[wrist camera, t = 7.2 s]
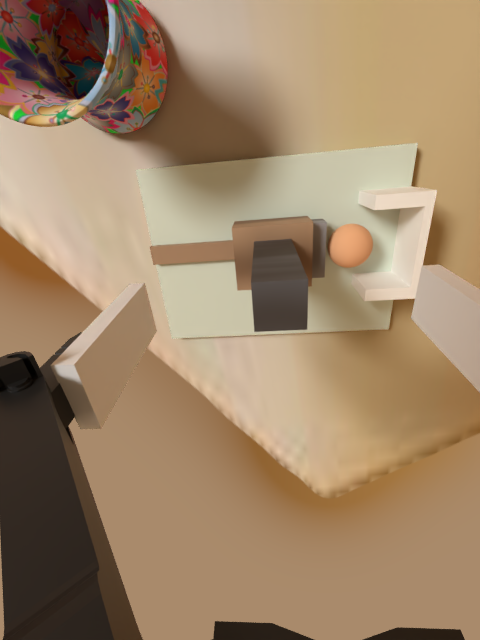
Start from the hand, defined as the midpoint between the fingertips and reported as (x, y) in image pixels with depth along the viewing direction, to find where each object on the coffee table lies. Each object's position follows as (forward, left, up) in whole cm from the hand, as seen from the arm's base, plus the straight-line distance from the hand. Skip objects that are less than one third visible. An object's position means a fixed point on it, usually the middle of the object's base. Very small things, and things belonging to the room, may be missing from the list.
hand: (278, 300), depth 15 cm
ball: (+1, +6, -12) cm, 13 cm away
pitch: (+2, 0, -14) cm, 14 cm away
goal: (+1, +9, -14) cm, 17 cm away
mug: (-14, -12, -15) cm, 24 cm away
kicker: (+1, +1, -13) cm, 12 cm away
